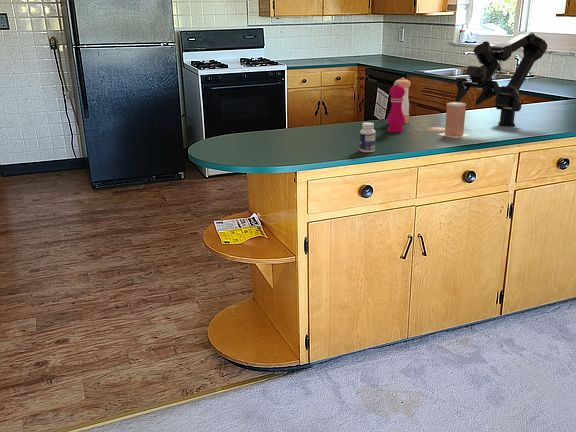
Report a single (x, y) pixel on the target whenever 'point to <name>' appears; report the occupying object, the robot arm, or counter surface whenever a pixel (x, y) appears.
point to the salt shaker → (405, 98)
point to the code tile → (454, 136)
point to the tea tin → (455, 119)
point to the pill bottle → (367, 137)
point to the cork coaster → (436, 129)
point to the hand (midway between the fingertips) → (465, 102)
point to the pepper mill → (396, 109)
